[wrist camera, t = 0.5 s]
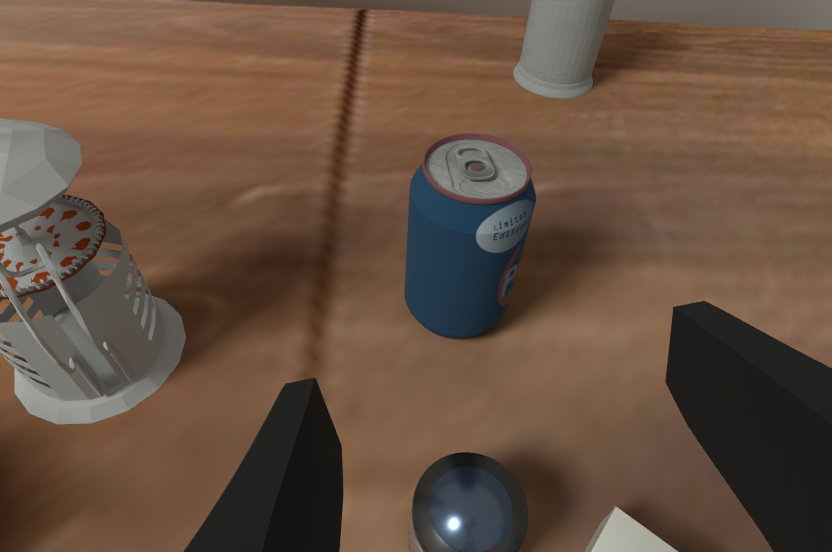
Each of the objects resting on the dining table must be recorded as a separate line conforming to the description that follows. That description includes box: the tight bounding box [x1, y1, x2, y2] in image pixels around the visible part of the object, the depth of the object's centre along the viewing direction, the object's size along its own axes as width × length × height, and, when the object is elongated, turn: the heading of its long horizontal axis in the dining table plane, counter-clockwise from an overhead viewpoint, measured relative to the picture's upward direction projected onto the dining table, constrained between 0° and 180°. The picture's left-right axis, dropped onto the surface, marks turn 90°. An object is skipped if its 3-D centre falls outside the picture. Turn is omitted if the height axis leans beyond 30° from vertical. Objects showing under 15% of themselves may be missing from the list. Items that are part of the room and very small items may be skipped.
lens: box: [409, 452, 528, 552], centre depth 25 cm, size 5×5×5 cm
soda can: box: [405, 133, 536, 339], centre depth 32 cm, size 7×7×12 cm
